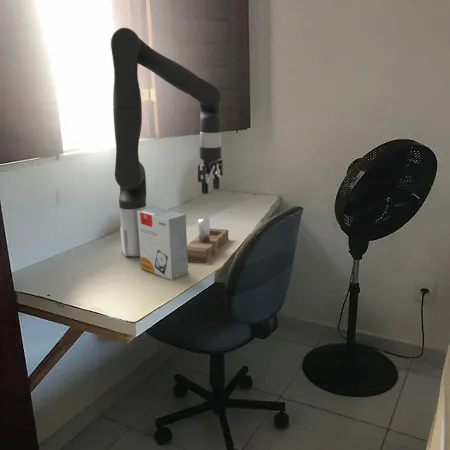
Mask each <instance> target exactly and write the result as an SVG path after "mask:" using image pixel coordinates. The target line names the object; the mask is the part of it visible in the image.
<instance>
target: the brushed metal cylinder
mask: <svg viewBox="0 0 450 450" xmlns="http://www.w3.org/2000/svg"><path fill="white" fill-rule="evenodd" d="M197 223H198V224H197V226H198V227H197V228H198V236H199V242H203V243H205V242H209V241H210V228H211V227H210V225H211V224H210V217H200V218H198V219H197Z"/></svg>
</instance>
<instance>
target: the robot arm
mask: <svg viewBox="0 0 450 450" xmlns="http://www.w3.org/2000/svg"><path fill="white" fill-rule="evenodd" d="M111 34H112V35H111V36H110V41H109V42H110V43H109V44H110V49H111V56H112V57H111V58H112V64H113V75H114V76H113V91H112V92H113V95H112V96H113V97H112V107H113V108H112V112H113V113H112V114H113V125H114V126H113V128H114V139H115V150H116V151H115V165H114V166H115V167H114V178H115V181H116V183H117V185H118V186H119V199H118V205H119V206H118V207H119V216H120V217H119V218H120V226H119V227H120V228H119V230H120V231H119V232H120V241H121V252H122V253H123V255H124V257H125V258H126V257H140V247H139V233H138V220H137V211H139V210H142V209H146V208H147V178H146V169H145V167H144V165H143V164H142V163H141V161H140V157H139V156H140V155H139V146H140V145H139V142H140V138H141V132H142V123H143V122H142V121H143V112H142V111H143V106H142V95H141V88H140V83H139V76H138V75H139V74H138V70H139V68H138V67H139V65H140V66H142V67H144V68H146V69H148V71H150V72H152V73H153V74H155V75H156V76H158V77H159V78H161V79H162V80H163V81H164V82H166V83H168V84H169V85H171V86H172V87H175V88H176V89H178V91H179V90H180V91H181V92H183V93H185V94H187V95H189V96H190V97H192V98H193V99H195V100H196V101H197V102H198V103H199V106H198V107H199V114H200V118H199V159H200V160H201V161H203V162H202V164H198V165H197V182H198V183H201V194H204V195H207V194H209V181H210V179H211V178H212V177H213V178H212V182H213V183H212V187H213V188H212V189H214V190H219V189H220V179H221V177H223V175H224V170H223V169H224V167H223V159H222V133H221V117H220V102H221V101H222V93H221V90H220V89H219V88H218V86H216V85H213V84H212V83H210V82H208V81H207V80H205V79H203V78H201V77H199V76H198V75H197V74H196V73H194V72H192V70H190V69H188V68H186V67H185V66H183V65H182V64H179V63H178V62H176V61H174V60H172V59H170V58H168V57H166V56H165V55H163V54H161V53H159V52H158V51H156V50H155V49H153V48H152V47H150V46H149V45H148V44H147V43H146V42H144V41H143V40H142V39H141V38H140V37H139V35H138V34H137V32H135V31H134V30H133V29H131V28H128V27H119V28H118V29H116V30H115V31H113V33H111Z"/></svg>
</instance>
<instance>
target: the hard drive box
mask: <svg viewBox="0 0 450 450" xmlns="http://www.w3.org/2000/svg"><path fill="white" fill-rule="evenodd" d="M186 219H187V217H186V214H184V213H181V212H176V211H174V210H169V209H165V208H163V207H161V208H160V207H157V206H150V207H146V209H142V210H139V211H137V220H138V233H139V247H140V256H139V258H140V269H143V270H145V271H146V272H149V273H152V274H155V275H158V276H159V277H162V278H163V279H168V280H170V281H174V280H175V279H178V278H180V277H182V276H185V275H188V274H189V263H188V262H189V261H188V257H187V245H188V240H187V239H188V237H187V220H186Z"/></svg>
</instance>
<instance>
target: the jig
mask: <svg viewBox="0 0 450 450" xmlns="http://www.w3.org/2000/svg"><path fill="white" fill-rule="evenodd" d="M228 241H229V229H222V228H211V227H210V241H209V242H205V243H203V242H199V235H197V237H195V238H194V239H193V240H191V241H190V242H189V243H187V257H188V262H194V263H195V262H196V263H207V262H208V261H209V260H210V259H211V258H212V257H213V256H214V255H215V254H216V253H217V252H218V251H219V250H220V249H221V248H222V247H223V246H224V245H225V244H226V243H227V242H228Z"/></svg>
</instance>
